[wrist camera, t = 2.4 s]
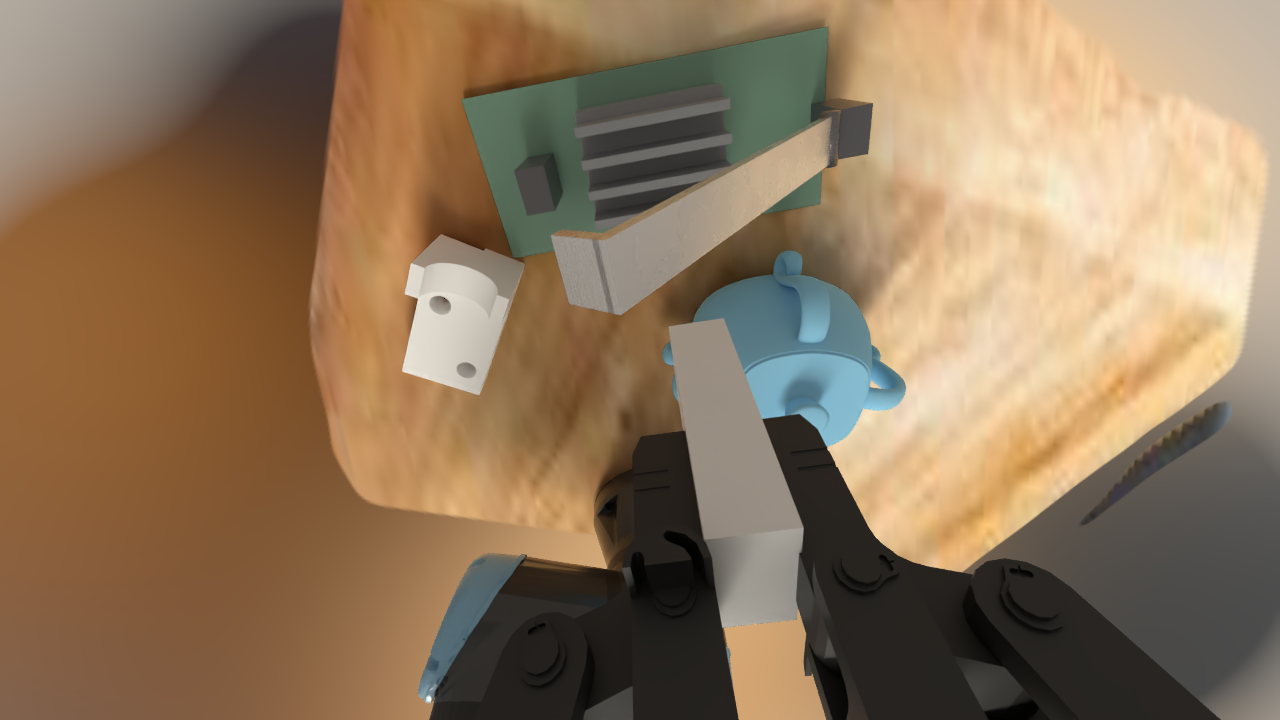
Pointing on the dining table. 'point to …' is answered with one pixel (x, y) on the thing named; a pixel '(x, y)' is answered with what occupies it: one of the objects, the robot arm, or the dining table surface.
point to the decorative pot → (802, 348)
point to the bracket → (458, 312)
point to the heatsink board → (553, 121)
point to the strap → (689, 221)
